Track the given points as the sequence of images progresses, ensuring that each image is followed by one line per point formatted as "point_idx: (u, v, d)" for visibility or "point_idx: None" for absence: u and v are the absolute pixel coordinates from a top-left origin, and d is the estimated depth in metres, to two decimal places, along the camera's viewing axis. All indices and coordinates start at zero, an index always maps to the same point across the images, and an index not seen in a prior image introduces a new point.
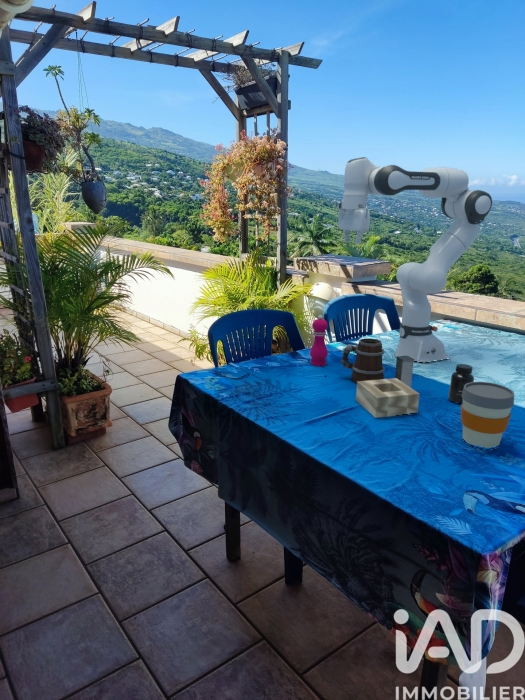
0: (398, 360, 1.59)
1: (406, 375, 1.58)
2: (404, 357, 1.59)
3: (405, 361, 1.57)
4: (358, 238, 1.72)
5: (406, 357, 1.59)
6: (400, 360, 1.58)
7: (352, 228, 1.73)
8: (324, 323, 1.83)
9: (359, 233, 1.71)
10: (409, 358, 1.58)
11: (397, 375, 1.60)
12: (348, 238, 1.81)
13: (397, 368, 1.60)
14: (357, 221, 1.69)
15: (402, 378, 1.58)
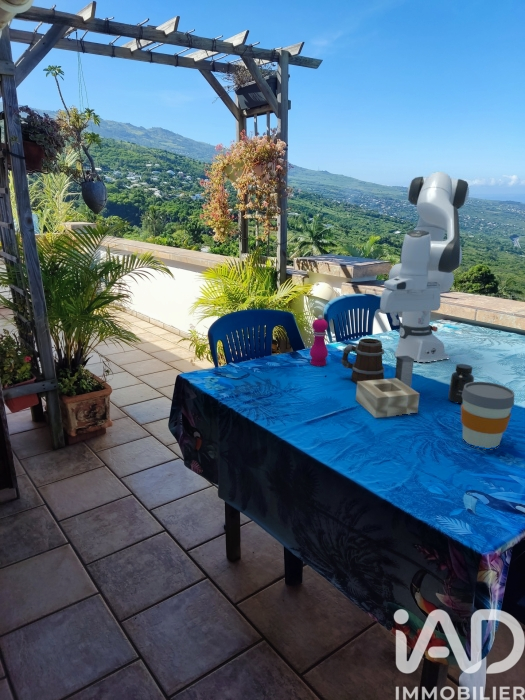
0: (398, 360, 1.59)
1: (406, 375, 1.58)
2: (404, 357, 1.59)
3: (405, 361, 1.57)
4: None
5: (406, 357, 1.59)
6: (400, 360, 1.58)
7: (421, 309, 1.53)
8: (324, 323, 1.83)
9: None
10: (409, 358, 1.58)
11: (397, 375, 1.60)
12: None
13: (397, 368, 1.60)
14: (433, 300, 1.53)
15: (402, 378, 1.58)
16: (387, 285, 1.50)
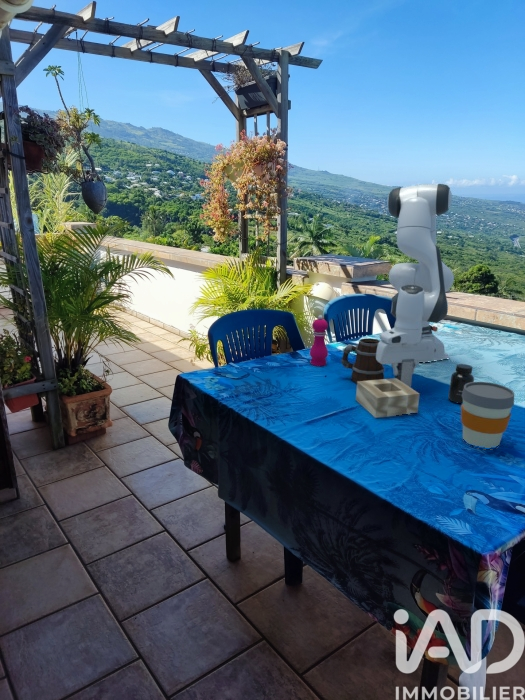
0: None
1: (406, 375, 1.58)
2: None
3: (405, 361, 1.57)
4: None
5: None
6: None
7: (416, 360, 1.58)
8: (324, 323, 1.83)
9: None
10: None
11: None
12: None
13: (397, 368, 1.60)
14: (427, 351, 1.58)
15: (402, 378, 1.58)
16: (382, 338, 1.55)
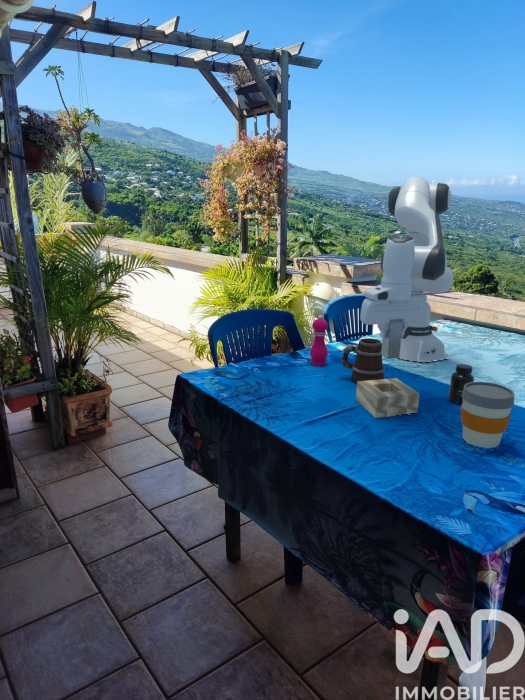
0: None
1: (394, 337, 1.41)
2: None
3: (393, 321, 1.39)
4: None
5: None
6: None
7: (405, 320, 1.40)
8: (324, 323, 1.83)
9: None
10: None
11: (385, 338, 1.42)
12: None
13: (385, 330, 1.42)
14: (418, 311, 1.40)
15: (390, 341, 1.41)
16: (367, 295, 1.37)
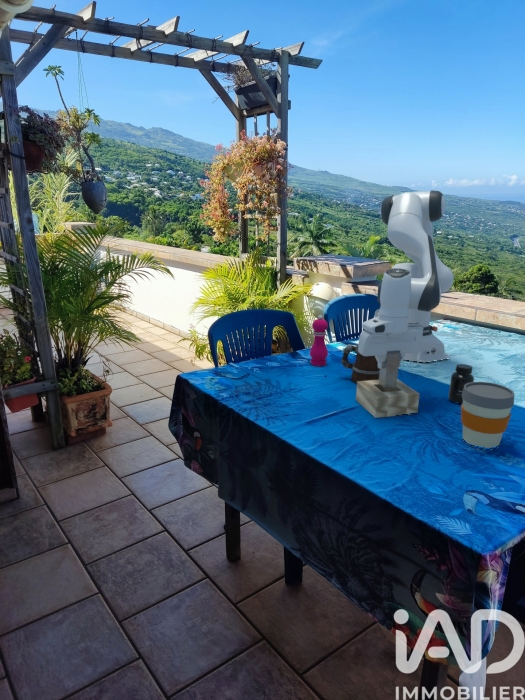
0: None
1: (391, 368, 1.43)
2: None
3: (390, 353, 1.42)
4: None
5: None
6: None
7: (402, 351, 1.43)
8: (324, 323, 1.83)
9: None
10: None
11: (382, 368, 1.45)
12: None
13: (382, 360, 1.45)
14: (414, 342, 1.43)
15: (387, 372, 1.43)
16: (365, 327, 1.40)
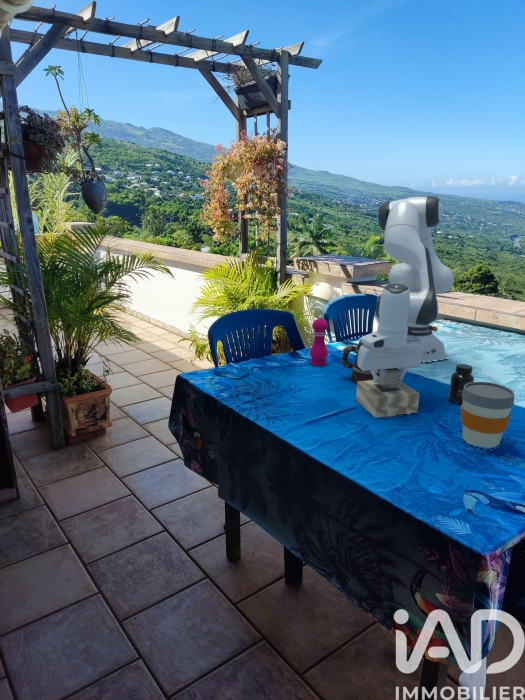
0: (381, 370, 1.46)
1: (390, 386, 1.45)
2: None
3: (389, 371, 1.44)
4: None
5: None
6: (383, 370, 1.45)
7: (401, 365, 1.44)
8: (324, 323, 1.83)
9: None
10: (393, 368, 1.45)
11: (381, 386, 1.47)
12: None
13: (381, 379, 1.47)
14: (413, 356, 1.44)
15: (386, 390, 1.45)
16: (364, 342, 1.41)
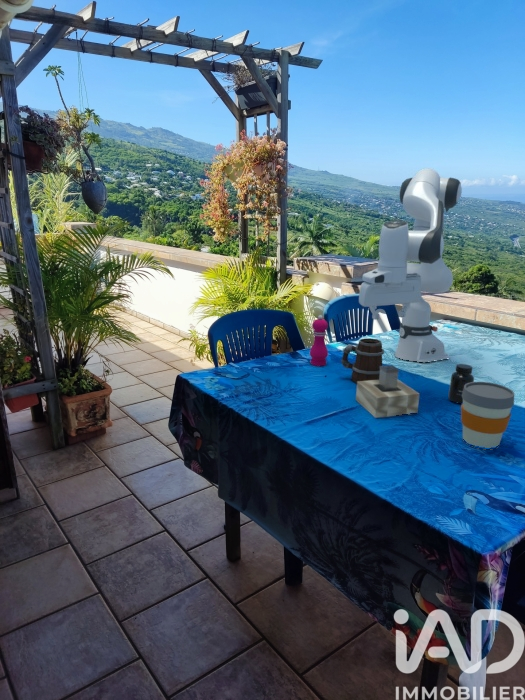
0: (381, 370, 1.46)
1: (390, 386, 1.45)
2: (388, 367, 1.46)
3: (389, 371, 1.44)
4: None
5: (390, 367, 1.46)
6: (383, 370, 1.45)
7: (401, 301, 1.49)
8: (324, 323, 1.83)
9: None
10: (393, 368, 1.45)
11: (381, 386, 1.47)
12: None
13: (381, 379, 1.47)
14: (413, 292, 1.49)
15: (386, 390, 1.45)
16: (365, 278, 1.45)
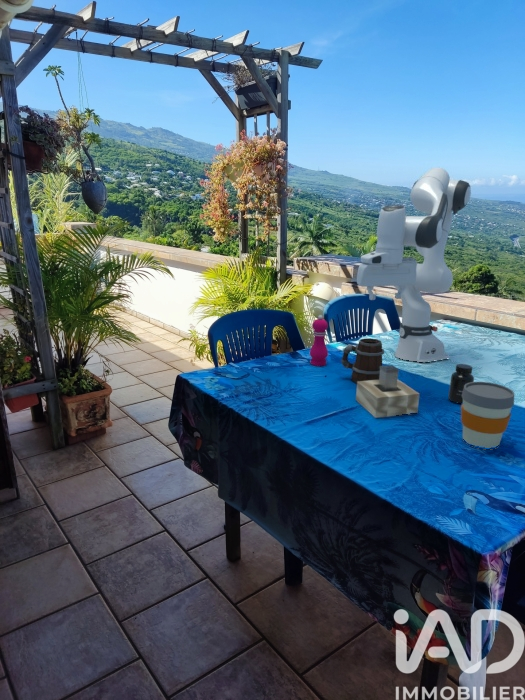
0: (381, 370, 1.46)
1: (390, 386, 1.45)
2: (388, 367, 1.46)
3: (389, 371, 1.44)
4: None
5: (390, 367, 1.46)
6: (383, 370, 1.45)
7: (397, 283, 1.55)
8: (324, 323, 1.83)
9: None
10: (393, 368, 1.45)
11: (381, 386, 1.47)
12: None
13: (381, 379, 1.47)
14: (409, 275, 1.55)
15: (386, 390, 1.45)
16: (363, 259, 1.52)
